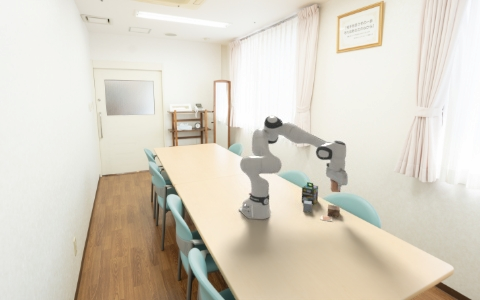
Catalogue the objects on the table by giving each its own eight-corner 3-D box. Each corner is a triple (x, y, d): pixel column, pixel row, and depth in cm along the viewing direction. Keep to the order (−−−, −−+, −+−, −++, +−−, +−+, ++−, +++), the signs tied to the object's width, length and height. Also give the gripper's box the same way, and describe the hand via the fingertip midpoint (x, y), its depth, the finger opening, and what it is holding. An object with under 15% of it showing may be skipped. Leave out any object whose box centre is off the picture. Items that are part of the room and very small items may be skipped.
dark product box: (317, 200, 195) (319, 181, 192) (313, 205, 187) (314, 185, 184) (305, 198, 200) (306, 179, 197) (301, 201, 193) (302, 182, 189)
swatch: (320, 219, 165) (320, 219, 165) (320, 215, 171) (321, 215, 170) (332, 221, 163) (332, 220, 163) (332, 217, 168) (332, 216, 168)
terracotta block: (331, 191, 168) (332, 182, 166) (330, 189, 172) (331, 180, 171) (340, 192, 167) (341, 183, 165) (338, 189, 172) (339, 180, 170)
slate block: (303, 211, 177) (303, 203, 175) (303, 208, 181) (304, 200, 180) (310, 212, 175) (311, 204, 174) (311, 209, 180) (311, 201, 178)
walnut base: (327, 216, 171) (328, 208, 170) (327, 211, 177) (328, 204, 176) (339, 217, 169) (339, 210, 168) (338, 213, 175) (339, 206, 174)
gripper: (351, 171, 157) (349, 193, 160) (333, 162, 176) (332, 182, 179) (341, 171, 156) (339, 193, 159) (325, 162, 175) (323, 182, 178)
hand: (335, 187), depth 169 cm, fingers closed on terracotta block, 6 cm apart
